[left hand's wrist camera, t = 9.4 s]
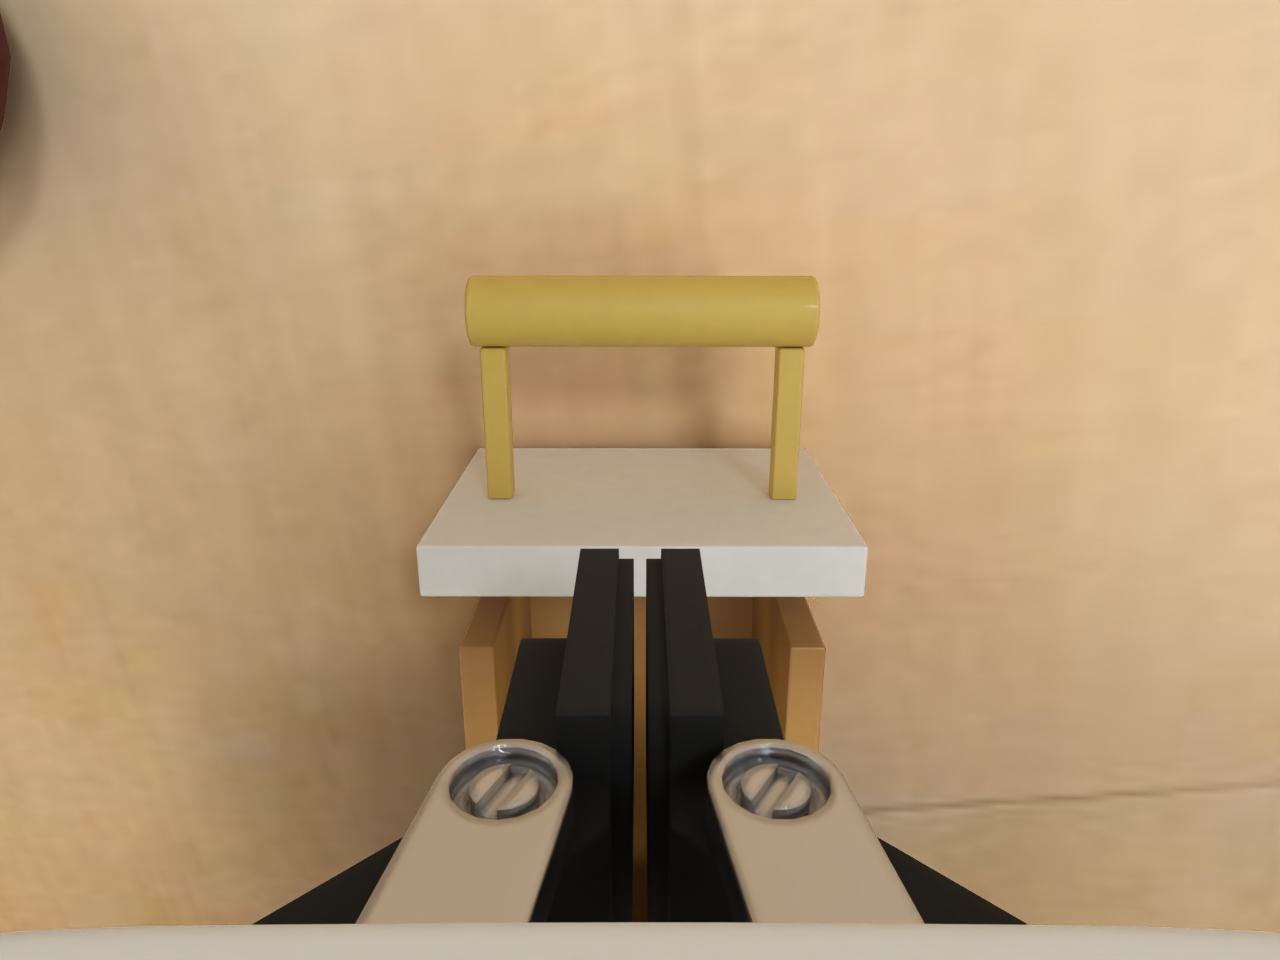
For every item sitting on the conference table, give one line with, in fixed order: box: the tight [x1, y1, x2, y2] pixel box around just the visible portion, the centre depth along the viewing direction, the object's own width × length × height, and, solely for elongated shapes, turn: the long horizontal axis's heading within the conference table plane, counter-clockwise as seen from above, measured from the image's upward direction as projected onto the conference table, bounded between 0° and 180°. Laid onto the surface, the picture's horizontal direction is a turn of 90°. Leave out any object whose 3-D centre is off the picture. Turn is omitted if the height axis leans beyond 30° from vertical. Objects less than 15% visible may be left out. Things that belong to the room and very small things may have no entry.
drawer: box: [416, 276, 868, 922], centre depth 24 cm, size 24×10×8 cm, turn 0°
